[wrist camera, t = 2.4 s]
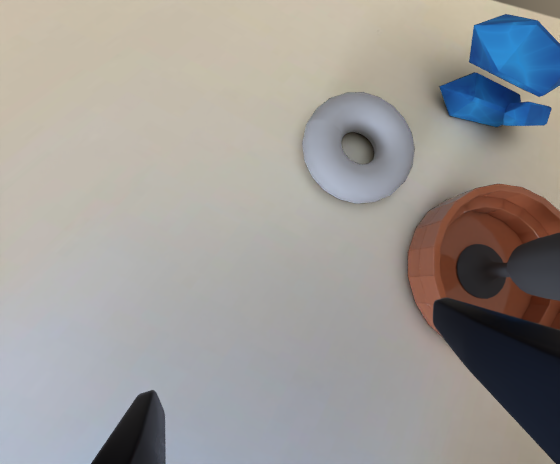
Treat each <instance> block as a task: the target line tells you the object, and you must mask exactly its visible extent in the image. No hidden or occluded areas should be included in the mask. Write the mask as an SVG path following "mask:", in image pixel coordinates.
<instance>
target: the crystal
mask: <svg viewBox="0 0 560 464" xmlns="http://www.w3.org/2000/svg"><path fill="white" fill-rule="evenodd" d="M469 62H470V63H472V64H474V65H476V66H478V67H480V68H482V69H484V70H486V71H488V72H489V73H491V74H493V75H495V76H497V77H499V78H501V79H503V80H505V81H507V82H509V83H511V84H513V85H515V86H517V87H519V88H521V89H523V90H526V91H528V92H530V93H532V94H534V95H536V96H538V97H540V96H543V95H545V94H547V93H548V92H550V91H552V90H553V89H555V88H556V87H558V86H560V43H559V42H558V41H557V40H556V39H555V38H554V37H553V36H552V35H551V34H550V33H549V32H548V31H547V30H546V29H545V28H544V27H543V26H542V25H541V24H540V23H539V21H537V20H532V19H527V18H523V17H518V16H513V15H508V14H505V15H502V16H499V17H496V18H493V19H491V20H488V21H485V22H482V23H479V24H477V25H474V29H473V37H472V45H471V52H470V60H469ZM439 87H440V90H441V93H442V96H443V99H444V102H445V105H446V108H447V111H448V114H449V115H450V116H453V117H457V118H461V119H465V120H469V121H474V122H478V123H482V124H486V125H490V126H494V127H499V126H501V125H505V126H535V125H545V124H547V121H548V118H549V115H550V112H551V107H549V106H545V105H540V104H536V103H532V102H521V100H520V95H519V94H518V93H516V92H514V91H512V90H510V89H508V88H506V87H504V86H502V85H500V84H498V83H496V82H494V81H492V80H490V79H488V78H486V77H484V76H482V75H480V74H478V73H475V72H474V73H472V74H469V75H467V76H464V77H462V78H459V79H457V80H454V81H452V82H449V83H447V84H444V85H442V86H439Z"/></svg>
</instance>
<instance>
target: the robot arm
mask: <svg viewBox="0 0 560 464" xmlns="http://www.w3.org/2000/svg"><path fill="white" fill-rule="evenodd" d="M433 324H434V326H435V328H436V329H437V330H438V332H439V333H440V334H441V335H442V337H443V338H444V339H445V341H446V342H447V343H448V344H449V346H450V347H451V348H452V350H453V351H454V352H455V353H456V355H457V356H458V357H459V359H460V360H461V361H462V362H463V364H464V365H465V366H466V367H467V368H468V369H469V371H470V372H471V373H472V374H473V375H474V376H475V377H476V378H477V379H478V380H479V381H480V383H481V384H482V385H483V386H484V387H485V388H486V389H487V390H488V391H489V392H490V393H491V394H492V395H493V397H494V398H495V399H496V400H497V401H498V402H499V403H500V404H501V405H502V406H503V407H504V408H505V409H506V411H507V412H508V413H509V414H510V415H511V416H512V417H513V418H514V419H515V420H516V421H517V422H518V423H519V425H520V426H521V427H522V428H523V429H524V430H525V431H526V432H527V433H528V434H529V435H530V436H531V437H532V438H533V440H534V441H535V442H536V443H537V444H538V445H539V446H540V447H541V448H542V449H543V450H544V451H545V452H546V454H547V455H548V456H549V457H550V458H551V459H552V460H553V461H554V462H555V463H556V464H560V330H558V329H555V328H551V327H548V326H545V325H541V324H538V323H534V322H531V321H527V320H524V319H520V318H517V317H514V316H510V315H507V314H503V313H500V312H496V311H493V310H489V309H486V308H483V307H479V306H476V305H472V304H469V303H465V302H462V301H458V300H455V299H452V298H448V297H444V298H441V299H438V300H435V302H434V304H433ZM91 464H165V414H164V409H163V407H162V405H161V402H160V400H159V398H158V395H157V393H156V392H155V391H154V390H151V391H148V392H144V393H141V394H139V395H138V396H137V397H136V399H135V400H134V402H133V403H132V405H131V406H130V408H129V409H128V410H127V412H126V413H125V415H124V416H123V418H122V419H121V421H120V422H119V424H118V425H117V427H116V428H115V429H114V431H113V432H112V434H111V435H110V437H109V438H108V440H107V441H106V443H105V444H104V445H103V447H102V448H101V450H100V451H99V453H98V454H97V456H96V457H95V459H94V460H93V462H92V463H91Z"/></svg>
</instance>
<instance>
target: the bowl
mask: <svg viewBox="0 0 560 464" xmlns="http://www.w3.org/2000/svg"><path fill="white" fill-rule="evenodd" d="M559 232H560V211H559V210H558V209H556V208H555V207H554V206H553V205H552V204H551V203H550V202H549V201H547V200H546V199H545V198H543V197H541V196H539V195H537V194H535V193H533V192H531V191H529V190H527V189H525V188H523V187H517V186H511V185H504V184H494V185H489V186H484V187H479V188H475V189H473V190H470V191H467V192H465V193H462V194H460V195H457V196H455V197H452V198H449V199H447V200H445V201H444V202H442V203H441V204H439V205H437V206H436V207H434V208H433V209H431V210H430V211H429V212H428V213H427V214H426V216H425V217H424V218H423V219H422V221H421V222H420V223H419V225H418V226H417V227H416V229H415V232H414V235H413V238H412V242H411V245H410V248H409V251H408V278H409V282H410V285H411V289H412V293H413V296H414V300H415V303H416V304H417V306H418V308H419V309H420V311H421V313H422V314H423V316H424V317H425V319H426V321H427V322H428V324H429V325H430V326H431V327H432V328H433V329H434V330H435V331H436V332H437V333H439V332H438V330H437V329H436V328H435V326H434V324H433V304H434V302H435V300H438V299H441V298H444V297H448V298H452V299H455V300H458V301H462V302H465V303H469V304H472V305H476V306H479V307H483V308H486V309H489V310H493V311H496V312H500V313H503V314H507V315H510V316H514V317H517V318H520V319H524V320H527V321H531V322H534V323H538V324H541V325H545V326H548V327H551V328H555V329H558V330H560V301H558V300H552V299H546V298H542V297H538V296H534V295H530V294H527V293H525V292H524V291H522V290H521V289H520V288H519V287H518V286H517V285H516V284H515V283H514V282H513V281H512V279H511V278H510V277H506V280H505V284H504V286H503V288H502V289H501V291H500V292H499V293H498V294H497V295H495V296H493V297H491V298H488V299H482V298H477V297H475V296H473V295H471V294H470V293H468V292H467V291H466V290H465V289H464V287H463V286H462V285H461V283H460V280H459V278H458V275H457V262H458V258H459V256H460V254H461V253H462V251H463V250H464V249H465V248H467V247H468V246H470V245H474V244H483V245H486V246H488V247H490V248H492V249H493V250H495V251H496V252H497V254H498V255H499V256H500V257H501V259H502V261H503V263H507V262H508V260H509V258H510V256H511V254H512V252H513V251H514V249H515V248H516V247H518V246H519V245H521V244H524V243H527V242H529V241H532V240H535V239H537V238H541V237H544V236H548V235H552V234H556V233H559ZM439 334H440V333H439ZM440 335H441V334H440ZM441 336H442V335H441Z"/></svg>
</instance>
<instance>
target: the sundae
mask: <svg viewBox="0 0 560 464" xmlns="http://www.w3.org/2000/svg"><path fill="white" fill-rule="evenodd" d="M457 275H458V278H459V280H460V283H461V285H462V286H463V287H464V289H465V290H466V291H467V292H468V293H470V294H471V295H473V296H475V297H477V298H482V299H488V298H491V297H493V296H495V295H497V294H498V293H499V292H500V291H501V289H502V288H503V286H504V284H505V280H506V277H510V278H511V279H512V281H513V282H514V283H515V284H516V285H517V286H518V287H519V288H520V289H521V290H522V291H524V292H525V293H527V294H530V295H534V296H538V297H542V298H546V299H552V300H558V301H560V232H559V233H556V234H552V235H548V236H544V237H541V238H537V239H535V240H532V241H529V242H527V243H524V244H521V245H519V246H518V247H516V248H515V249H514V251H513V252H512V254H511V256H510V258H509V260H508V262H507V263H503V261H502V259H501V257H500V256H499V255H498V254H497V252H496V251H495V250H493V249H492V248H490V247H488V246H486V245H483V244H474V245H470V246H468V247H467V248H465V249H464V250H463V251H462V253H461V254H460V256H459V258H458V262H457Z"/></svg>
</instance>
